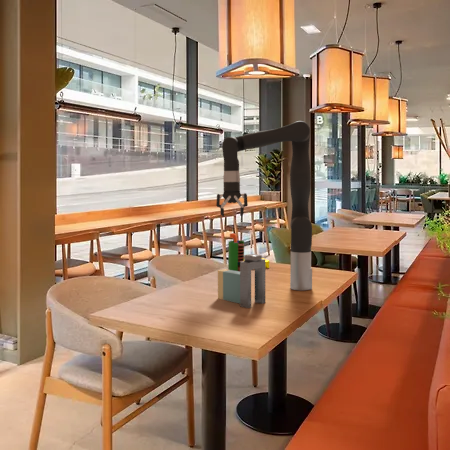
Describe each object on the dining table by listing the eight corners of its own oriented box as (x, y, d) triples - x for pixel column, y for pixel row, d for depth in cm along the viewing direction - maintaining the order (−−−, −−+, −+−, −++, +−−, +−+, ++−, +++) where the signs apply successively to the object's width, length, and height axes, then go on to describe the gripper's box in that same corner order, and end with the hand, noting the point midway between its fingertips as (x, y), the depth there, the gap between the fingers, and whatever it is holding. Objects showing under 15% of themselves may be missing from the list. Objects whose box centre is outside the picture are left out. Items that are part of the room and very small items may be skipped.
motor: (243, 272, 269) (243, 234, 267) (227, 271, 270) (226, 234, 268) (245, 268, 279) (245, 232, 277) (229, 268, 280) (229, 232, 278)
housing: (268, 303, 205) (268, 254, 203) (250, 308, 197) (250, 258, 195) (254, 300, 209) (254, 253, 207) (237, 305, 201) (237, 256, 199)
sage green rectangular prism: (248, 301, 208) (248, 273, 206) (241, 303, 204) (241, 274, 203) (225, 296, 217) (224, 269, 215) (217, 298, 213) (217, 270, 212)
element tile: (245, 270, 276) (245, 261, 275) (236, 265, 290) (236, 257, 289) (270, 268, 281) (270, 260, 280) (260, 264, 295) (260, 255, 294)
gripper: (245, 180, 236) (245, 215, 238) (215, 181, 234) (215, 215, 236) (248, 180, 229) (248, 216, 230) (217, 181, 227) (217, 217, 229)
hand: (232, 216), depth 233 cm, fingers open, 8 cm apart
